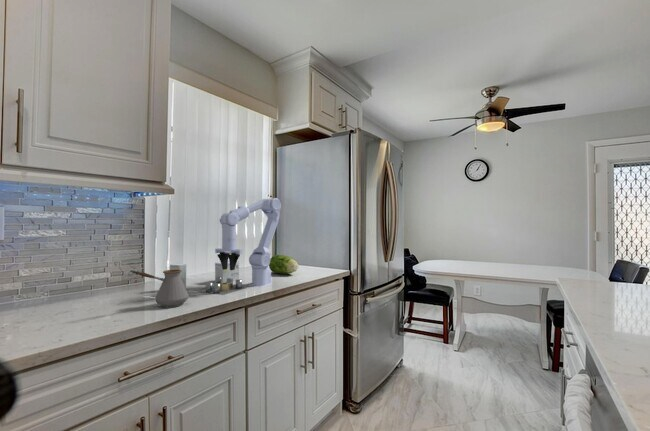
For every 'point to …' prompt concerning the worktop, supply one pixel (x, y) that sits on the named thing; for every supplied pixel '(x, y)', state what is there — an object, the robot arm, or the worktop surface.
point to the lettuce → (283, 264)
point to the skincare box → (182, 273)
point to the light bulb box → (226, 272)
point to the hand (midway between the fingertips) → (228, 269)
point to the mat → (221, 291)
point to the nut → (225, 286)
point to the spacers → (216, 286)
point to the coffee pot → (169, 288)
